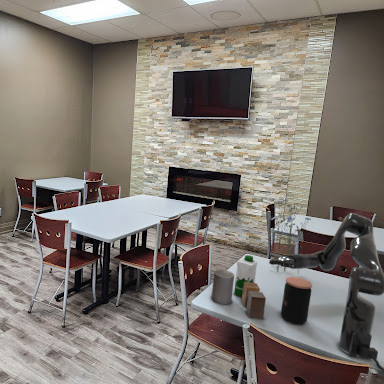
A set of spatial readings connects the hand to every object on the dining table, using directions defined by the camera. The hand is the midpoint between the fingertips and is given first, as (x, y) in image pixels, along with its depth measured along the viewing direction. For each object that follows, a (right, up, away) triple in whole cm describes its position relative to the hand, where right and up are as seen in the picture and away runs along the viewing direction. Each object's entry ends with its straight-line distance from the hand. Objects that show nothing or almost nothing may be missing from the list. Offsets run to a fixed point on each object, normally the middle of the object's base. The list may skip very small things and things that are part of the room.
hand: (270, 262), depth 173 cm
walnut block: (-16, -20, -20) cm, 32 cm away
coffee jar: (+1, -21, -22) cm, 30 cm away
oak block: (-14, -18, -10) cm, 26 cm away
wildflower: (+23, -13, +38) cm, 46 cm away
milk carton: (-14, -17, 0) cm, 22 cm away
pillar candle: (-27, -17, -7) cm, 33 cm away
